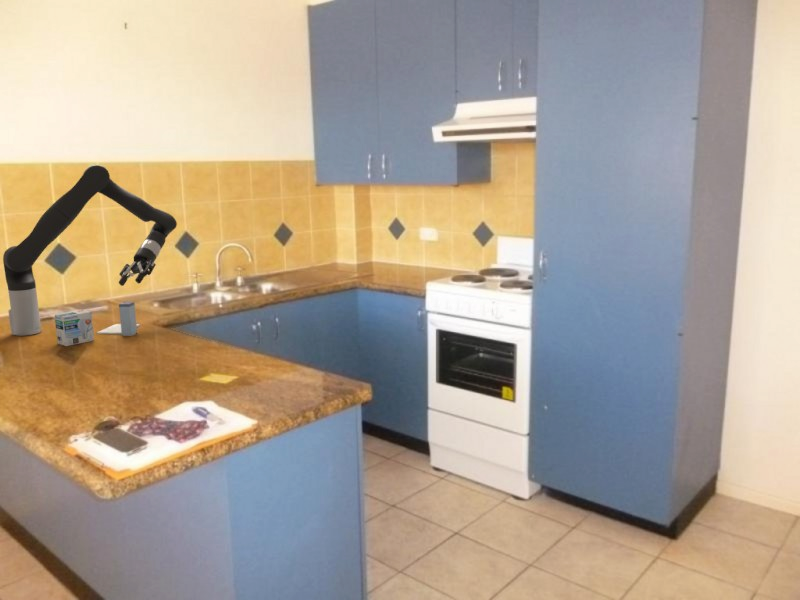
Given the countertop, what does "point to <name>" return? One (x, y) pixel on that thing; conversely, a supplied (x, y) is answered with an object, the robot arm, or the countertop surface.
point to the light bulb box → (74, 327)
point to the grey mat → (113, 329)
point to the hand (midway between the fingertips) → (129, 283)
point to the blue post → (128, 318)
